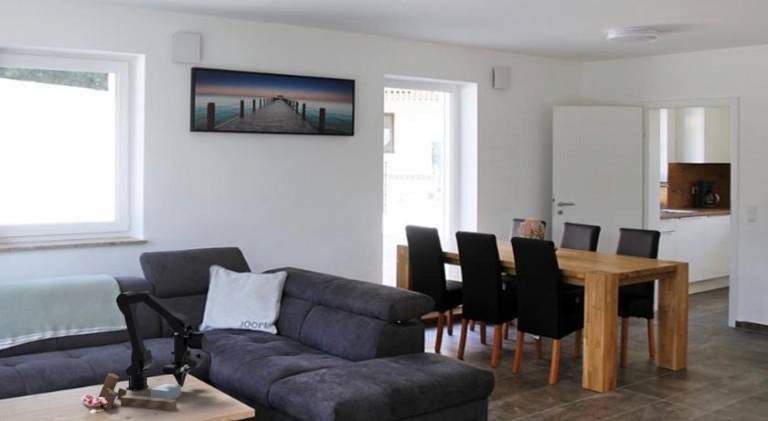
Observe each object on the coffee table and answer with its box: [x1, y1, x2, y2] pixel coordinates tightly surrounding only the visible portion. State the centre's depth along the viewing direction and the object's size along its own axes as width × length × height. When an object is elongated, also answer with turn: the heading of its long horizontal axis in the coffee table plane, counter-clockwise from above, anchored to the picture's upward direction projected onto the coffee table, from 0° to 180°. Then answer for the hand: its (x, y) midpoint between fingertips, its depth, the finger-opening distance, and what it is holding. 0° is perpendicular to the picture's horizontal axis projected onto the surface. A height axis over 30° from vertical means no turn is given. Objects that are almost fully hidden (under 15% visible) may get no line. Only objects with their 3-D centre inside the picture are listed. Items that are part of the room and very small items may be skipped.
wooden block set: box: [98, 372, 128, 410], centre depth 302 cm, size 18×9×10 cm, turn 5°
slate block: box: [150, 383, 182, 400], centre depth 309 cm, size 7×9×4 cm
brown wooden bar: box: [120, 394, 178, 411], centre depth 297 cm, size 22×3×3 cm, turn 73°
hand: (181, 386), depth 319 cm, fingers closed
